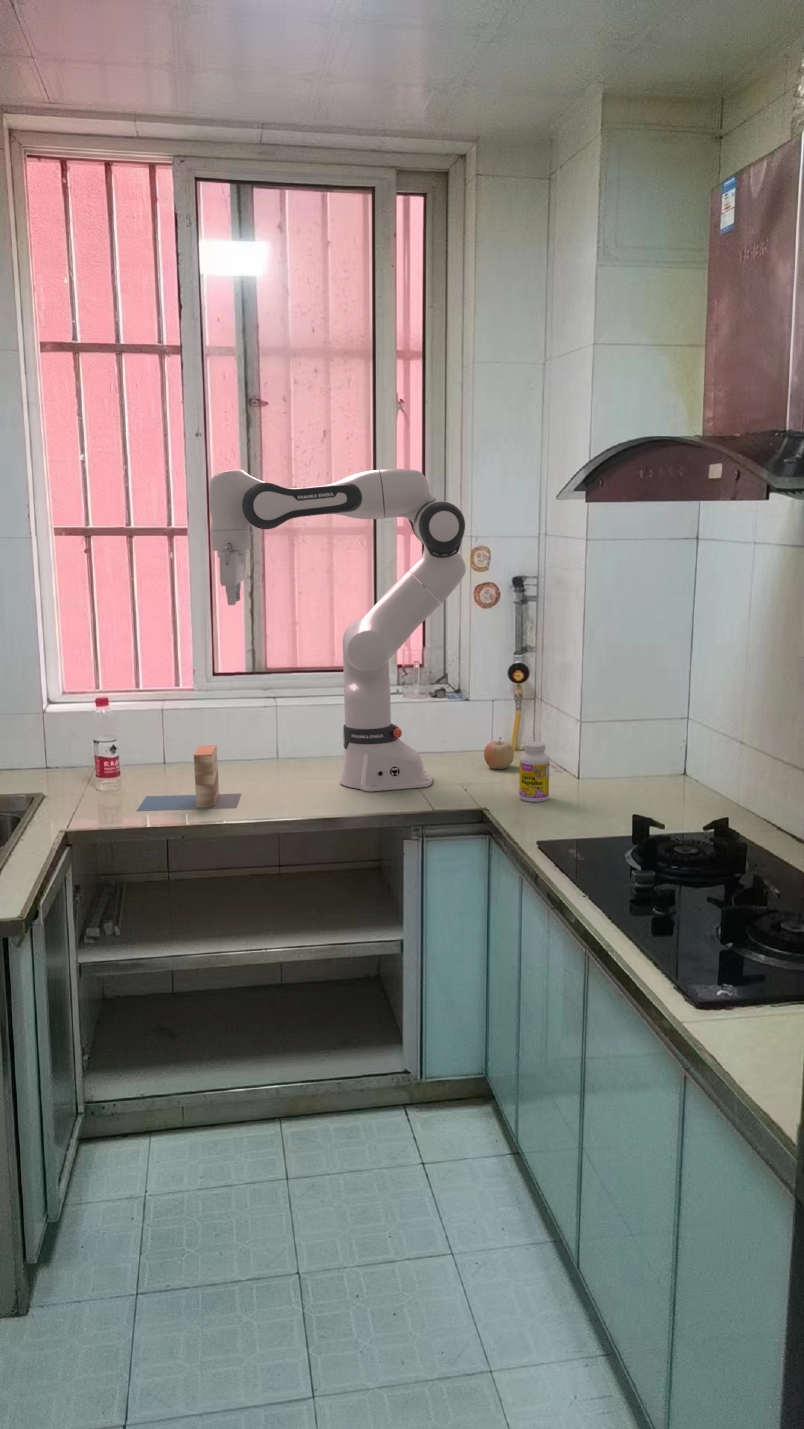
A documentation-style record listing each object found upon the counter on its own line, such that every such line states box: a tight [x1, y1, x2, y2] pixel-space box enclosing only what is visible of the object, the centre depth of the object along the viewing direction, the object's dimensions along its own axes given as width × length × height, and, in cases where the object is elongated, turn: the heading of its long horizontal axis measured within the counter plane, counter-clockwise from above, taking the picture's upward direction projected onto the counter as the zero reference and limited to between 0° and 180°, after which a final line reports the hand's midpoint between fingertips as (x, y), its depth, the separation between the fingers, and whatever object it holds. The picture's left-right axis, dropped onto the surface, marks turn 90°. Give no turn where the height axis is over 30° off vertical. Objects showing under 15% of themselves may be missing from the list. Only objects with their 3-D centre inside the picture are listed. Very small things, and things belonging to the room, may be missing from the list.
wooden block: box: [193, 744, 220, 807], centre depth 241 cm, size 4×9×12 cm, turn 3°
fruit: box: [483, 736, 515, 770], centre depth 270 cm, size 8×7×8 cm
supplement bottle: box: [518, 741, 550, 803], centre depth 241 cm, size 7×7×13 cm
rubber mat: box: [136, 793, 243, 812], centre depth 242 cm, size 22×12×1 cm, turn 93°
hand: (234, 603), depth 247 cm, fingers open, 8 cm apart
